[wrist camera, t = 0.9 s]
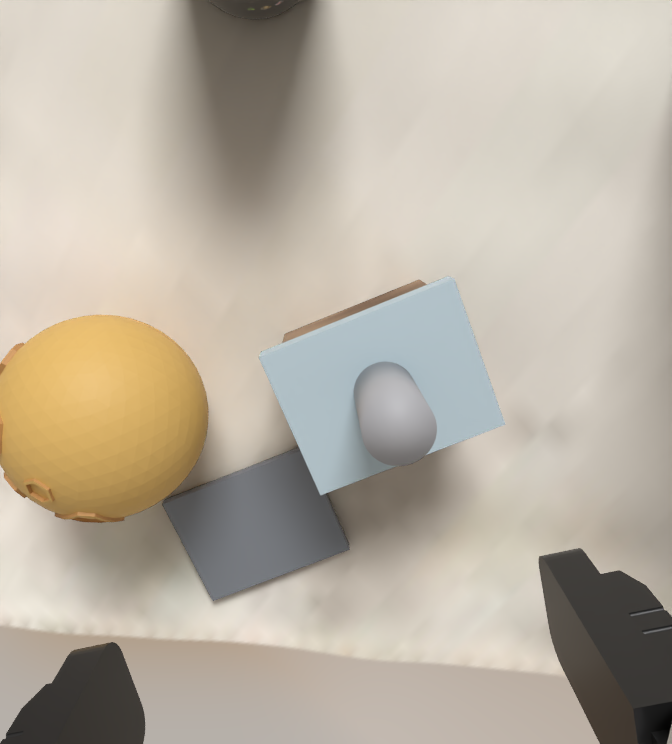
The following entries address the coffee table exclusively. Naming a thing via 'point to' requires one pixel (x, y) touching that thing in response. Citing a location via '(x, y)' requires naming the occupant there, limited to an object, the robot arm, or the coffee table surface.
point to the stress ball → (99, 417)
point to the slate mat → (256, 524)
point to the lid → (383, 386)
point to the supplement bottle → (254, 7)
